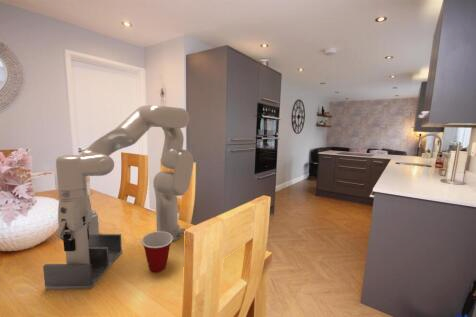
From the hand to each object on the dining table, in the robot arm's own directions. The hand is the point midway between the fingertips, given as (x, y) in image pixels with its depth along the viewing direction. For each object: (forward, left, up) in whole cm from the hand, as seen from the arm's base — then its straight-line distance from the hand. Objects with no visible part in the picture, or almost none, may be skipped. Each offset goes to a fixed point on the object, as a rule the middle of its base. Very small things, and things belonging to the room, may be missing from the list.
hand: (77, 244), depth 74 cm
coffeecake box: (+57, -87, -12) cm, 105 cm away
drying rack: (0, -5, -12) cm, 13 cm away
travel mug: (0, 0, -10) cm, 10 cm away
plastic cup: (-25, -5, -12) cm, 28 cm away
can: (+14, -29, -12) cm, 34 cm away
